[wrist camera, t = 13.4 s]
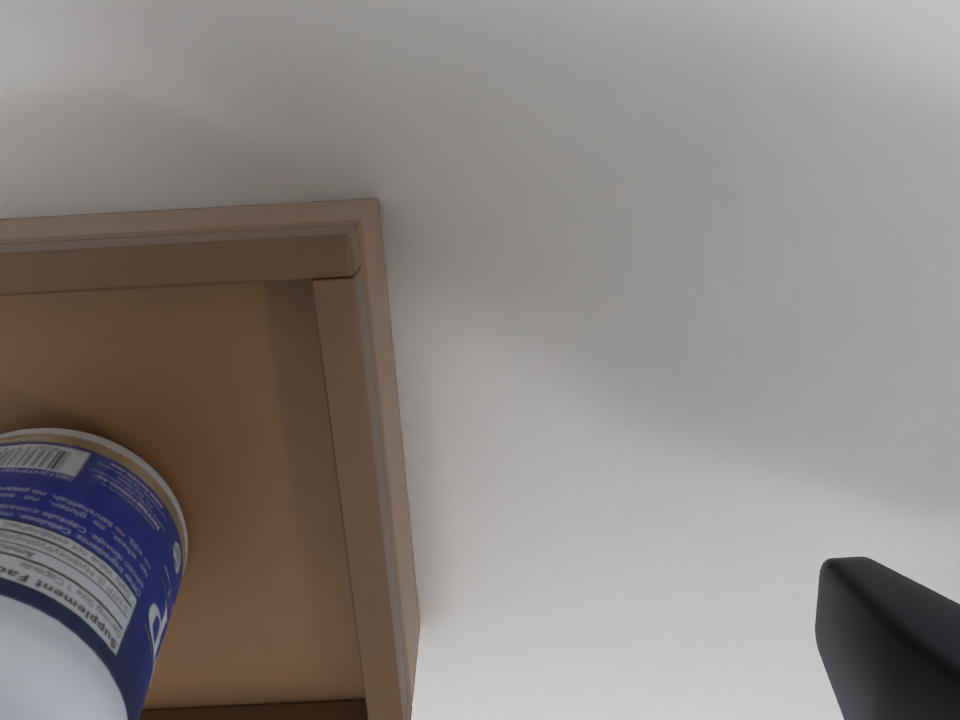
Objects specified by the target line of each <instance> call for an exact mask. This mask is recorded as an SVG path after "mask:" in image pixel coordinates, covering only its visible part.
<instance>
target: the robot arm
mask: <svg viewBox="0 0 960 720" xmlns="http://www.w3.org/2000/svg"><path fill="white" fill-rule="evenodd" d="M815 634H816V641H817V646H818V650H819V653H820V656H821V658H822V661H823V664H824V666H825V669H826V672H827V674H828V677H829V680H830V682H831V685H832V688H833V690H834V693H835V696H836V698H837V701H838V704H839V706H840V709H841V712H842V714H843V717H844V720H960V604H958V603H956V602H954V601H952V600H950V599H948V598H946V597H944V596H942V595H940V594H938V593H936V592H934V591H932V590H931V589H929V588H927V587H925V586H923V585H921V584H919V583H917V582H915V581H913V580H911V579H909V578H907V577H905V576H903V575H901V574H899V573H897V572H895V571H893V570H891V569H889V568H887V567H886V566H884V565H882V564H880V563H878V562H876V561H874V560H872V559H870V558H867V557H847V558H830V559H828V560H826V561H825V562H824V563H823V565H822V567H821V570H820V577H819V588H818V599H817V611H816V622H815Z"/></svg>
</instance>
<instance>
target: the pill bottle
mask: <svg viewBox="0 0 960 720" xmlns="http://www.w3.org/2000/svg"><path fill="white" fill-rule="evenodd" d="M187 551H188V537H187V530H186V525H185V520H184V517H183V513H182V511H181V508H180V506H179V503H178V501H177V499H176V497H175V495H174V494H173V492H172V491H171V489H170V488H169V486H168V485H167V483H166V482H165V481H164V480H163V478H162V477H161V476H160V475H159V474H158V473H157V472H156V471H155V470H154V469H153V468H152V467H151V466H150V465H149V464H148V463H146V462H145V461H144V460H143V459H142V458H140V457H139V456H137V455H136V454H134V453H133V452H131V451H130V450H128V449H126V448H125V447H123V446H121V445H119V444H117V443H115V442H112V441H110V440H107V439H105V438H102V437H100V436H96V435H93V434H90V433H86V432H81V431H76V430H69V429H62V428H32V429H23V430H17V431H12V432H7V433H4V434H1V435H0V720H139V718H140V715H141V712H142V708H143V705H144V702H145V698H146V695H147V692H148V688H149V685H150V682H151V678H152V675H153V672H154V669H155V665H156V662H157V659H158V655H159V652H160V649H161V646H162V642H163V639H164V636H165V632H166V629H167V626H168V622H169V619H170V616H171V613H172V610H173V607H174V604H175V601H176V597H177V594H178V591H179V588H180V584H181V581H182V577H183V573H184V570H185V566H186V560H187Z"/></svg>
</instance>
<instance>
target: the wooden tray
mask: <svg viewBox="0 0 960 720" xmlns="http://www.w3.org/2000/svg"><path fill="white" fill-rule="evenodd" d="M32 428H62V429H69V430H76V431H81V432H86V433H90V434H93V435H96V436H100V437H102V438H105V439H107V440H110V441H112V442H115V443H117V444H119V445H121V446H123V447H125V448H126V449H128V450H130V451H131V452H133V453H134V454H136V455H137V456H139V457H140V458H142V459H143V460H144V461H145V462H146V463H148V464H149V465H150V466H151V467H152V468H153V469H154V470H155V471H156V472H157V473H158V474H159V475H160V476H161V477H162V478H163V480H164V481H165V482H166V483H167V485H168V486H169V488H170V489H171V491H172V492H173V494H174V495H175V497H176V499H177V501H178V503H179V506H180V508H181V511H182V513H183V517H184V520H185V525H186V530H187V537H188V551H187V560H186V566H185V570H184V573H183V577H182V581H181V584H180V588H179V591H178V594H177V597H176V601H175V604H174V607H173V610H172V613H171V616H170V619H169V622H168V626H167V629H166V632H165V636H164V639H163V642H162V646H161V649H160V652H159V655H158V659H157V662H156V665H155V669H154V672H153V675H152V678H151V682H150V685H149V688H148V692H147V695H146V698H145V702H144V705H143V708H142V712H141V715H140V718H139V720H411V713H412V701H413V692H414V682H415V672H416V663H417V653H418V643H419V634H420V620H419V610H418V599H417V589H416V579H415V568H414V558H413V548H412V537H411V527H410V517H409V506H408V496H407V486H406V475H405V465H404V455H403V444H402V434H401V424H400V413H399V403H398V393H397V382H396V372H395V362H394V351H393V341H392V330H391V320H390V310H389V299H388V289H387V279H386V268H385V258H384V248H383V237H382V227H381V217H380V206H379V201H378V199H375V198H372V199H354V200H336V201H318V202H300V203H283V204H265V205H247V206H229V207H211V208H193V209H175V210H157V211H140V212H122V213H104V214H86V215H68V216H50V217H32V218H14V219H0V435H1V434H4V433H7V432H12V431H17V430H23V429H32Z"/></svg>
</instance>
